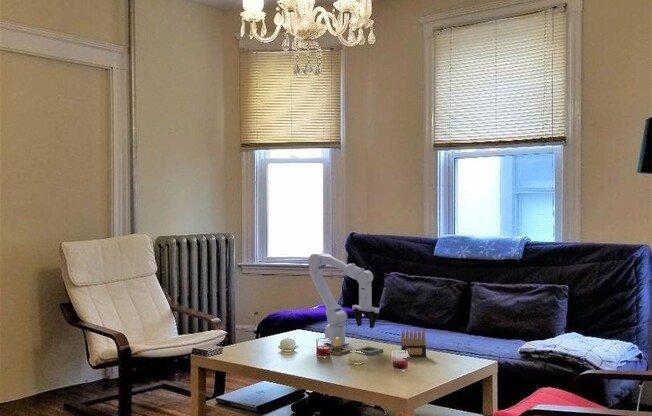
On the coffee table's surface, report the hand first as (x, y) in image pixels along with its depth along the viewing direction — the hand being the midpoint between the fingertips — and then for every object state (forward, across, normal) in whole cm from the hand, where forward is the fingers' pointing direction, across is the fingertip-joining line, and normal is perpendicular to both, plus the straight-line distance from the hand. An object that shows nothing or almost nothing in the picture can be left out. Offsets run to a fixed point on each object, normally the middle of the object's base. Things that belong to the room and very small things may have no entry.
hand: (365, 326), depth 300 cm
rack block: (+9, -3, -16) cm, 19 cm away
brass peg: (+9, -3, -16) cm, 19 cm away
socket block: (+9, +7, -6) cm, 13 cm away
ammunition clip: (+10, +27, 0) cm, 29 cm away
